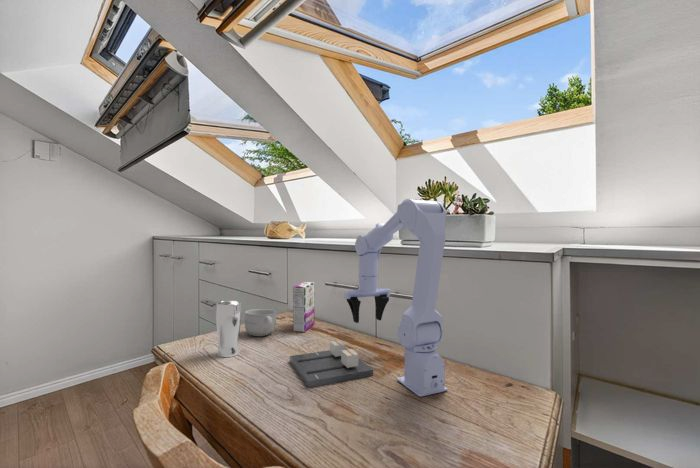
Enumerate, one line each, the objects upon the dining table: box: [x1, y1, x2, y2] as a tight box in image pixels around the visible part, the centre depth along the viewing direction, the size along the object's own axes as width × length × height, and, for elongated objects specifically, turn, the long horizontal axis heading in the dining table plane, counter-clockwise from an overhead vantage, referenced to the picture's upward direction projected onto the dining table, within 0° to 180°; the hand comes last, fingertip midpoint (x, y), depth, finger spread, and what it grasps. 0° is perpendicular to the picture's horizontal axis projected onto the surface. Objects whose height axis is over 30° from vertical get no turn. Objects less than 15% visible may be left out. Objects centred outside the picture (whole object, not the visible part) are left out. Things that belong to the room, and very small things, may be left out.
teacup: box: [244, 308, 278, 337], centre depth 116 cm, size 14×11×8 cm
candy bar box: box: [292, 281, 315, 333], centre depth 125 cm, size 11×5×16 cm, turn 168°
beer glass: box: [215, 299, 242, 359], centre depth 98 cm, size 7×7×15 cm
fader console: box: [289, 348, 374, 389], centre depth 89 cm, size 17×17×2 cm
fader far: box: [329, 339, 347, 357], centre depth 94 cm, size 4×3×3 cm
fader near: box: [341, 348, 359, 368], centre depth 87 cm, size 4×3×3 cm
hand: (367, 320), depth 101 cm, fingers open, 7 cm apart
